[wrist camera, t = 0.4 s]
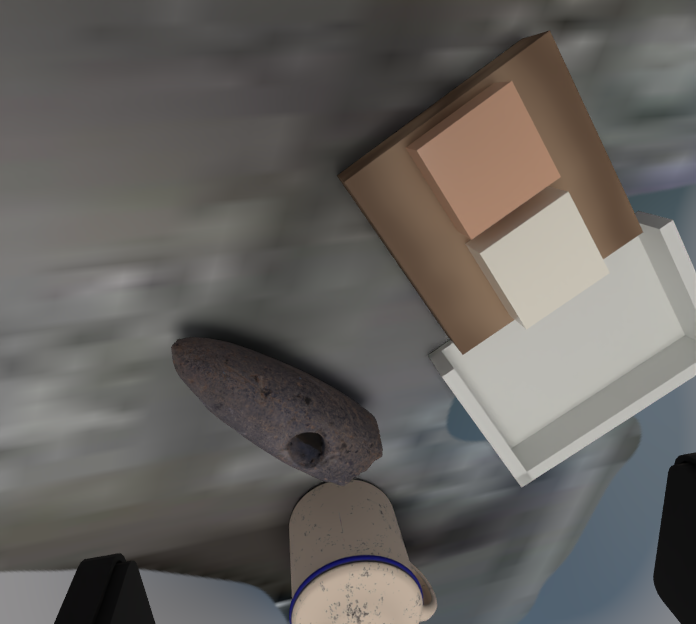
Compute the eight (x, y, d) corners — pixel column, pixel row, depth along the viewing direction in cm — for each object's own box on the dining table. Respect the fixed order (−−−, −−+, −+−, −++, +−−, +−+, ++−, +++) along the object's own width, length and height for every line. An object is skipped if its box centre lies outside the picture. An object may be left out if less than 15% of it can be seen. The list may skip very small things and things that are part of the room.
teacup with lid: (265, 543, 43) (264, 685, 33) (321, 457, 41) (338, 580, 31) (388, 586, 47) (423, 727, 36) (444, 509, 45) (500, 635, 34)
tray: (638, 210, 38) (672, 220, 34) (695, 334, 42) (730, 352, 39) (427, 355, 39) (442, 376, 36) (503, 459, 44) (521, 487, 40)
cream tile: (547, 186, 33) (568, 191, 30) (587, 262, 35) (609, 272, 32) (465, 243, 33) (480, 253, 31) (509, 315, 35) (526, 329, 33)
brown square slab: (521, 38, 33) (549, 30, 29) (611, 221, 38) (643, 232, 34) (337, 175, 34) (344, 182, 31) (446, 334, 39) (462, 354, 36)
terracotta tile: (493, 83, 30) (511, 80, 28) (539, 172, 32) (560, 176, 30) (405, 147, 31) (416, 150, 28) (457, 231, 33) (471, 239, 30)
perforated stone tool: (160, 355, 37) (137, 406, 30) (201, 295, 36) (186, 335, 29) (336, 450, 41) (348, 512, 35) (376, 399, 40) (396, 454, 34)
